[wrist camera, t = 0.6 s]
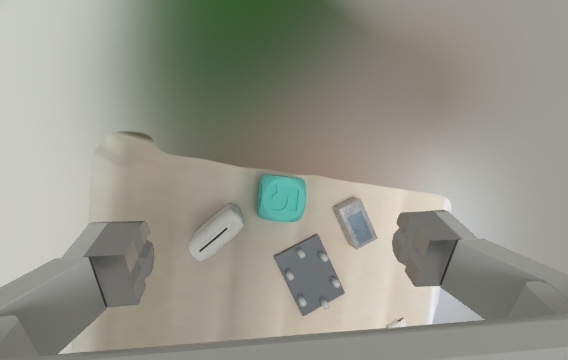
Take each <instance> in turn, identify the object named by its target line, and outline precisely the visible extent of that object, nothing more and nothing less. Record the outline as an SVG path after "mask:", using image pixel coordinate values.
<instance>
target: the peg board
mask: <svg viewBox="0 0 568 360" xmlns="http://www.w3.org/2000/svg"><path fill="white" fill-rule="evenodd" d="M274 257H275V259H276V261H277V263H278V265H279V267H280V270H281V272H282V274H283V276H284V278H285V280H286V282H287V284H288V286H289V288H290V290H291V292H292V294H293V296H294V298H295V300H296V303H297V305H298V307H299V309H300V311H301V313H302V315H303V316H305V315H307V314H308V313H310V312H312V311H314V310H315V309H317V308H319V307H321V306H323V307H324V309H328V308H329V304H328V302H330V301H332V300H333V299H335V298H337V297H339V296H340V295H342V294H344V293H345V292H344V290H343V288H342V286H341V284H340V282H339V279H338V277H337V275H336V273H335V271H334V269H333V266H332V264H331V262H330V260H329V258H328V256H327V253H326V251H325V249H324V247H323V245H322V243H321V240H320V238H319V236H318V235H317V234H315V235H314V236H312V237H310V238H308V239H306V240H304V241H302V242H300V243H298V244H296V245H294V246H292V247H290V248H289V249H287V250H285V251H283V252H281V253H279V254H277V255H275V256H274Z"/></svg>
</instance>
